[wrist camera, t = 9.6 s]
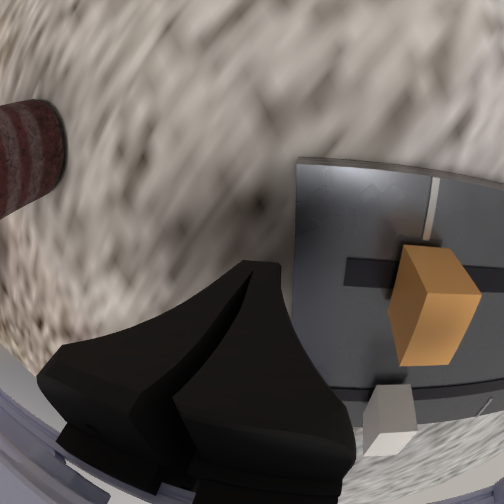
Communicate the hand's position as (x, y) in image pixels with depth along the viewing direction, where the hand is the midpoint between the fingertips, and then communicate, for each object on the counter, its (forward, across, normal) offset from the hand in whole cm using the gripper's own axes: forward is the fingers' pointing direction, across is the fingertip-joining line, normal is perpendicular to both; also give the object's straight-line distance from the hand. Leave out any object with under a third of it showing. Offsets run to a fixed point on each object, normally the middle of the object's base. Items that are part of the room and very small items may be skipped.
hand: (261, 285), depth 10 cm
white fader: (+1, -7, +8) cm, 11 cm away
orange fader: (+1, -6, 0) cm, 6 cm away
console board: (+3, -11, +4) cm, 12 cm away
